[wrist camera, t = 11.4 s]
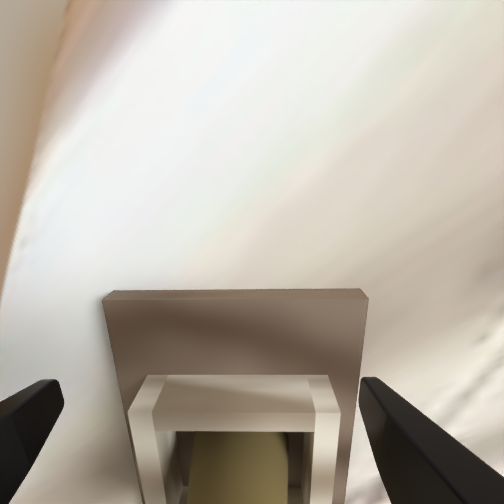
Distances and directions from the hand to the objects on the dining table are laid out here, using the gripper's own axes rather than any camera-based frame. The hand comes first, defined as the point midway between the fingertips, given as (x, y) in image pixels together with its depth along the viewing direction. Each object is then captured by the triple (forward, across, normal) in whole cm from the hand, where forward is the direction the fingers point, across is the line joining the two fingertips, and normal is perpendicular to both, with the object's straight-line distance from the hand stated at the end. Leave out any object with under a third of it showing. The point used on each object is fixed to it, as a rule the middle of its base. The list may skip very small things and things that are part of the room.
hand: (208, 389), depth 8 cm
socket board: (+7, 0, +10) cm, 13 cm away
